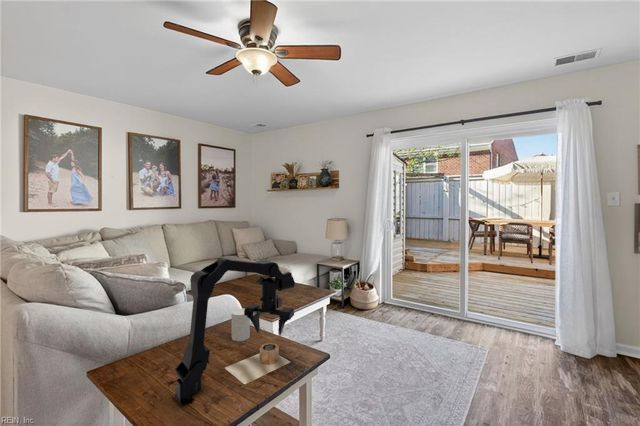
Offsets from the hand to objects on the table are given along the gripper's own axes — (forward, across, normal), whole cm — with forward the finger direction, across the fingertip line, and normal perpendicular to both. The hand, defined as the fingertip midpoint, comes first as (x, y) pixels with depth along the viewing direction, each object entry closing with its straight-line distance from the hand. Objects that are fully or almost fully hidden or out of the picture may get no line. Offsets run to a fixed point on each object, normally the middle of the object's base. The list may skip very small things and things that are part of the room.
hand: (269, 333), depth 115 cm
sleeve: (+10, 0, 0) cm, 10 cm away
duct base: (+12, +2, +4) cm, 13 cm away
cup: (+12, +22, -17) cm, 31 cm away
